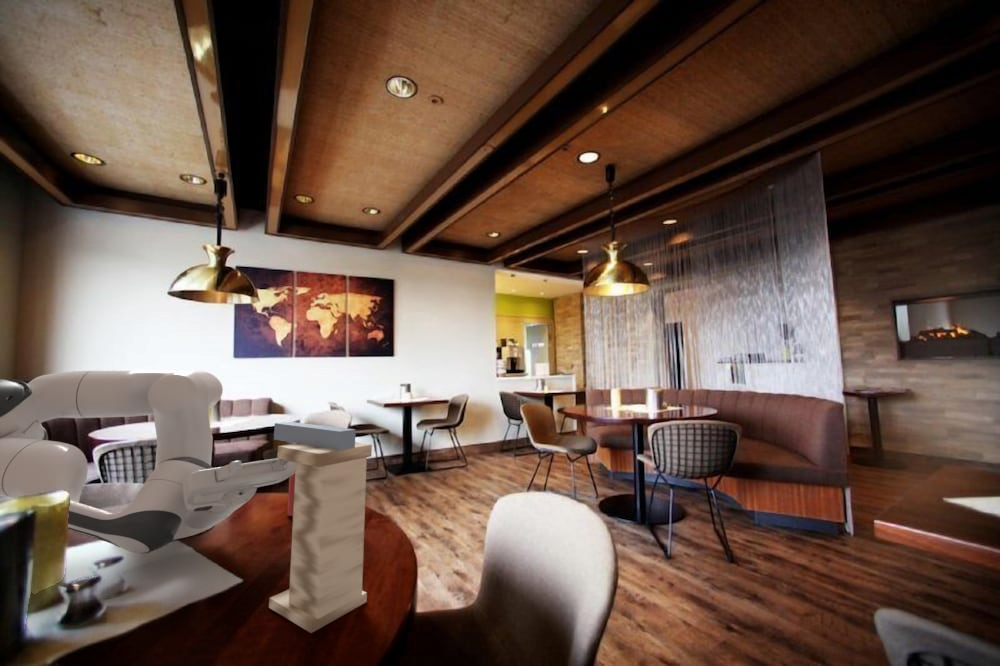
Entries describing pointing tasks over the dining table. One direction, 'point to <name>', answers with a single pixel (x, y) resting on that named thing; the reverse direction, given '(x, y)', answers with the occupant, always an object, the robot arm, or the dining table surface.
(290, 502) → the beer can
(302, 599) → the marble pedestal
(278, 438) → the block
